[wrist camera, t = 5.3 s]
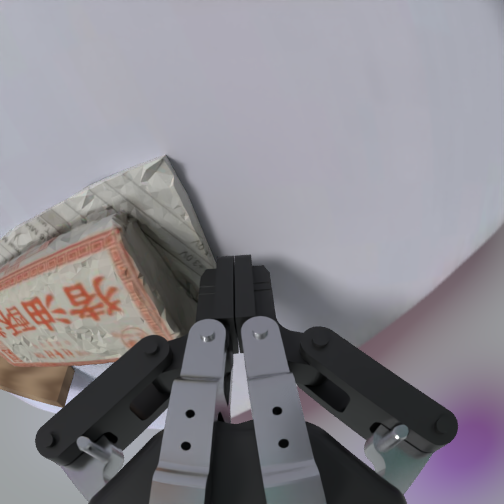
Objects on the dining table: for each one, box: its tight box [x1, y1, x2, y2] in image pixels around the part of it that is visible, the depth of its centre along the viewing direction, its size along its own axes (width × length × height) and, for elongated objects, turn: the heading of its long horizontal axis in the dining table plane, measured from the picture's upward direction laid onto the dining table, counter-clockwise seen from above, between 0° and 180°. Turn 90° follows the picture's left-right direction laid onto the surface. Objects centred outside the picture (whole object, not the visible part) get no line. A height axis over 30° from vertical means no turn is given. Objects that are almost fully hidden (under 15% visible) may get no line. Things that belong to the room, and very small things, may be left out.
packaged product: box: [0, 155, 216, 367], centre depth 13 cm, size 18×5×10 cm
